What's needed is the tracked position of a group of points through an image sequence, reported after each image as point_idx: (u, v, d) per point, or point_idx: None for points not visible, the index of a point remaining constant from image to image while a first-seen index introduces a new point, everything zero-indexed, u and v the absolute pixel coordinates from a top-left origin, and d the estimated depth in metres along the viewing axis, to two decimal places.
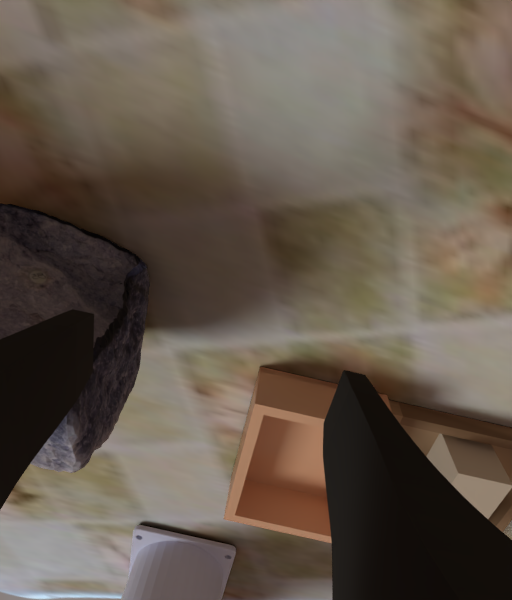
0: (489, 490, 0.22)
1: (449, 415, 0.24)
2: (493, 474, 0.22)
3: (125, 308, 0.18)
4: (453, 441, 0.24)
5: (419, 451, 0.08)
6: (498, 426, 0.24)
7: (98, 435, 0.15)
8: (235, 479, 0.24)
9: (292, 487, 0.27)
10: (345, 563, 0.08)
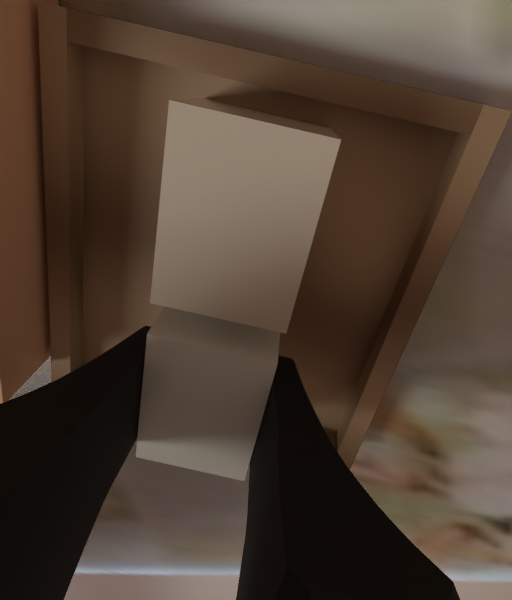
0: (276, 168, 0.07)
1: None
2: (291, 126, 0.07)
3: None
4: (223, 103, 0.09)
5: (321, 429, 0.08)
6: None
7: None
8: None
9: None
10: (249, 542, 0.08)
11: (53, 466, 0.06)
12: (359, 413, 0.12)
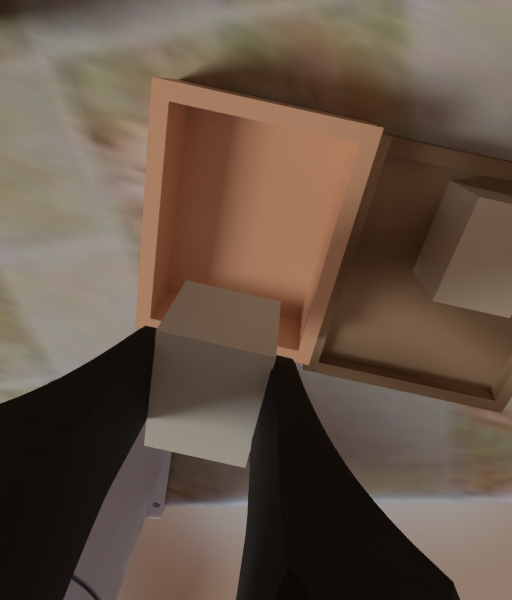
0: None
1: (462, 151, 0.16)
2: None
3: None
4: (469, 186, 0.16)
5: (320, 429, 0.08)
6: None
7: None
8: (142, 247, 0.16)
9: None
10: (248, 542, 0.08)
11: (53, 466, 0.06)
12: None
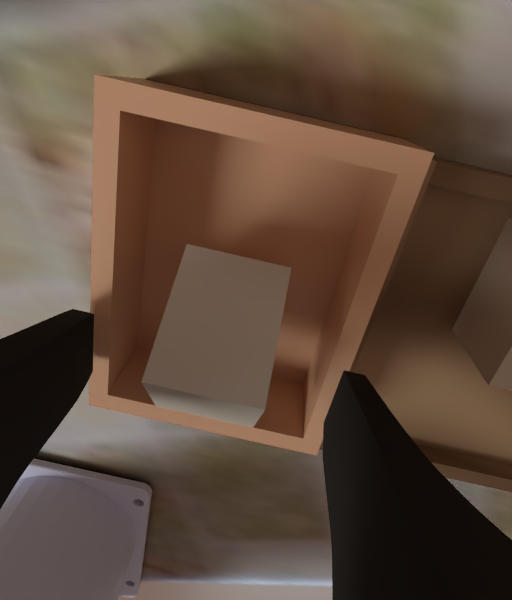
0: None
1: None
2: None
3: None
4: None
5: (419, 451, 0.08)
6: None
7: None
8: (92, 306, 0.12)
9: None
10: (345, 563, 0.08)
11: None
12: None
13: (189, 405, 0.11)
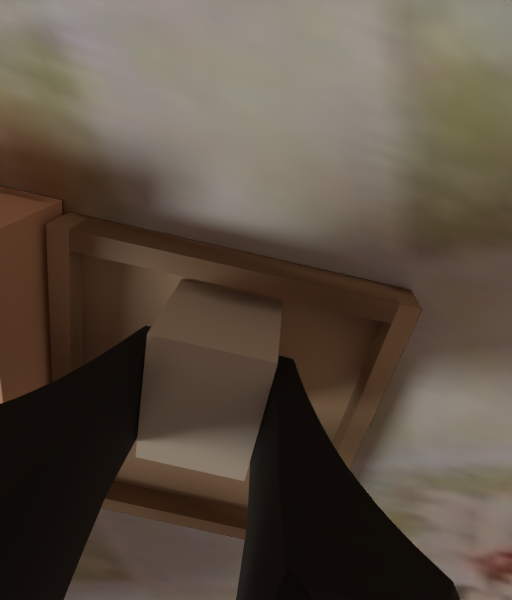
0: (230, 378, 0.09)
1: (192, 242, 0.12)
2: (242, 342, 0.10)
3: None
4: (195, 293, 0.11)
5: (320, 429, 0.08)
6: (295, 265, 0.12)
7: None
8: None
9: None
10: (248, 542, 0.08)
11: (53, 466, 0.06)
12: None
13: None
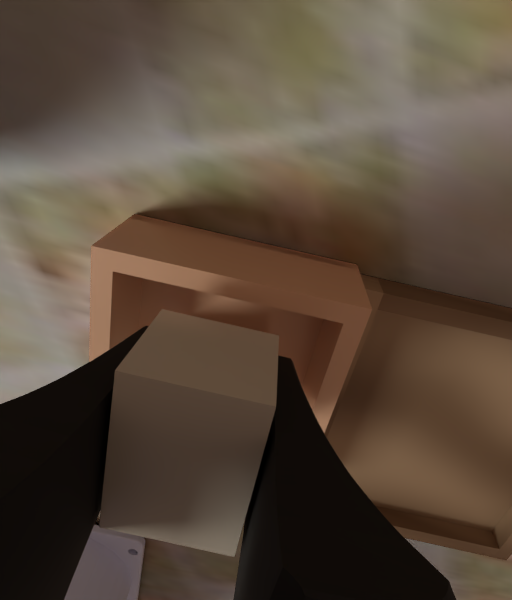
0: (217, 426, 0.08)
1: (466, 299, 0.14)
2: (232, 381, 0.08)
3: None
4: (177, 324, 0.10)
5: (318, 428, 0.08)
6: None
7: None
8: None
9: None
10: (246, 541, 0.08)
11: (54, 466, 0.06)
12: None
13: None
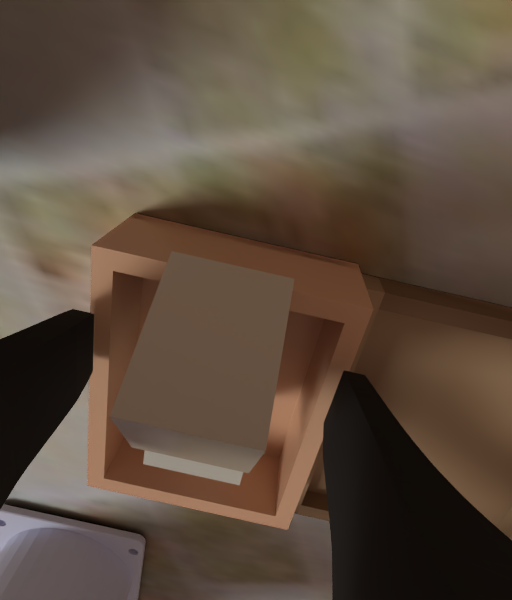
0: (249, 294, 0.09)
1: (467, 299, 0.14)
2: None
3: None
4: None
5: (419, 451, 0.08)
6: None
7: None
8: (90, 411, 0.13)
9: None
10: (345, 563, 0.08)
11: None
12: None
13: None
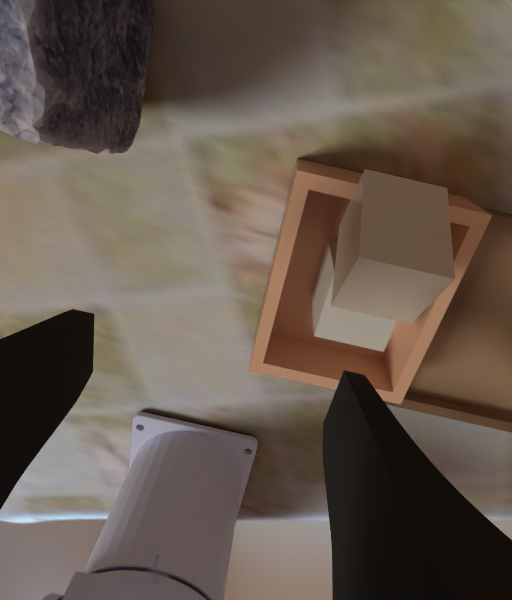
0: (421, 195, 0.14)
1: None
2: None
3: None
4: None
5: (419, 451, 0.08)
6: None
7: (76, 92, 0.10)
8: (265, 304, 0.18)
9: (332, 344, 0.22)
10: (345, 563, 0.08)
11: None
12: None
13: (349, 313, 0.16)
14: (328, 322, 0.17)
